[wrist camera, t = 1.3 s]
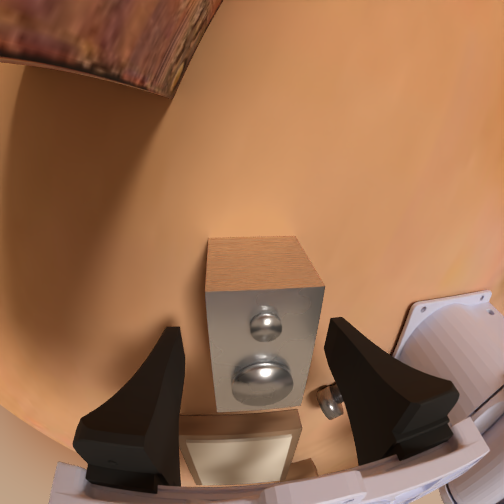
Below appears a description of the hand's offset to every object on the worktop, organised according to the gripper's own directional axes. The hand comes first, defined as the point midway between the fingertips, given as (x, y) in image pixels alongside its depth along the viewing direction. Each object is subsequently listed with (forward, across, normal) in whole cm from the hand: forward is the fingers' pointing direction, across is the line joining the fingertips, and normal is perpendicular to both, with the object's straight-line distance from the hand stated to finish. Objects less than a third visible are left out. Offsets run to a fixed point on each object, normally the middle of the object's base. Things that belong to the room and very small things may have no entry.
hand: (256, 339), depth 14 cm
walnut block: (+3, -6, +26) cm, 27 cm away
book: (+4, +3, -24) cm, 24 cm away
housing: (+3, 0, 0) cm, 4 cm away
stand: (+3, +1, +18) cm, 18 cm away
